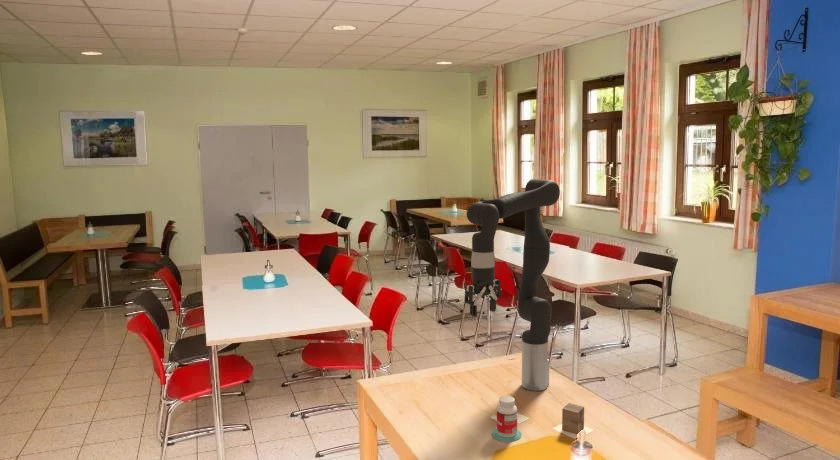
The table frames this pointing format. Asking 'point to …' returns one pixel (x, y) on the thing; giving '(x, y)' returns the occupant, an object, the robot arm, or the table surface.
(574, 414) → the walnut block
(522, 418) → the card
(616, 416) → the table surface
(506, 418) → the pill bottle
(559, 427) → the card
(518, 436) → the coaster
